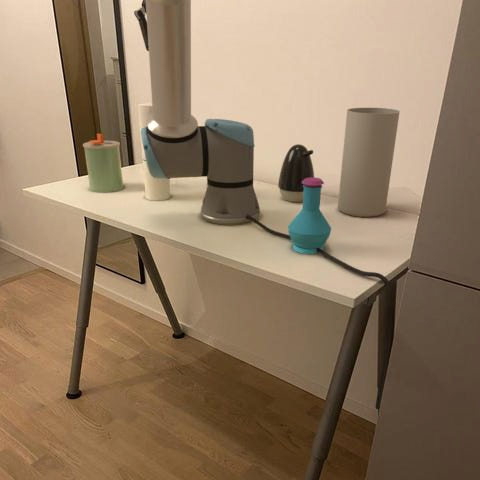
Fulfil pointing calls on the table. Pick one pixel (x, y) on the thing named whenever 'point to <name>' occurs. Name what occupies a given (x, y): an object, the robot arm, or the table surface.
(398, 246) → the table surface
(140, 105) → the cylindrical container
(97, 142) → the lid slider
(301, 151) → the pump dispenser
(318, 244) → the perfume bottle
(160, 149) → the robot arm
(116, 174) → the green lidded canister
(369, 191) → the cylinder vase
